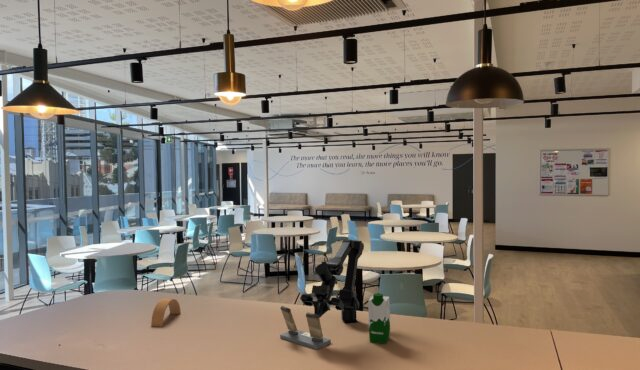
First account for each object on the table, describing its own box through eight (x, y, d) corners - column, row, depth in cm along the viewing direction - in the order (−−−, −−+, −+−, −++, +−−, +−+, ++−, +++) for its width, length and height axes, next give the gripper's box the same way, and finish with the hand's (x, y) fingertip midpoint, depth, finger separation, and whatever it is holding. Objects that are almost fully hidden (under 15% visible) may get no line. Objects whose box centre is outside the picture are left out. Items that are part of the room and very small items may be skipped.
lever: (290, 327, 198) (283, 305, 195) (297, 330, 193) (289, 307, 191) (287, 329, 196) (279, 307, 194) (294, 332, 192) (286, 310, 190)
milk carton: (367, 342, 187) (366, 295, 187) (371, 335, 196) (371, 289, 195) (388, 344, 184) (387, 296, 184) (391, 337, 193) (391, 291, 192)
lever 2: (312, 334, 188) (307, 311, 185) (323, 336, 186) (318, 313, 182) (310, 337, 187) (305, 314, 183) (321, 339, 184) (316, 316, 181)
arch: (181, 313, 232) (180, 294, 232) (162, 326, 213) (161, 305, 212) (170, 313, 233) (170, 294, 233) (150, 326, 213) (150, 305, 213)
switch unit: (294, 332, 201) (294, 326, 201) (330, 343, 188) (330, 337, 187) (280, 338, 194) (280, 332, 194) (317, 349, 181) (316, 343, 181)
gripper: (301, 275, 194) (288, 307, 184) (340, 279, 185) (329, 313, 176) (310, 289, 201) (299, 320, 192) (348, 293, 192) (338, 326, 183)
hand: (315, 320), depth 185 cm, fingers closed
